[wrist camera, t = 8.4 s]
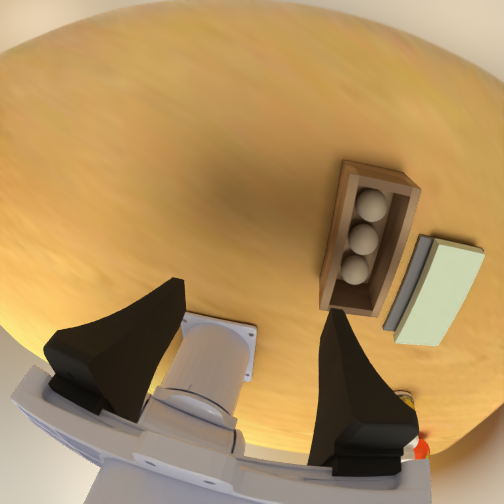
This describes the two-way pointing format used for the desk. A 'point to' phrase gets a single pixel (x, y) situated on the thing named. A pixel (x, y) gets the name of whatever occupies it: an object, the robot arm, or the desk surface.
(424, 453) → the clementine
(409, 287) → the mat
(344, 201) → the box
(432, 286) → the lid
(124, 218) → the desk surface
